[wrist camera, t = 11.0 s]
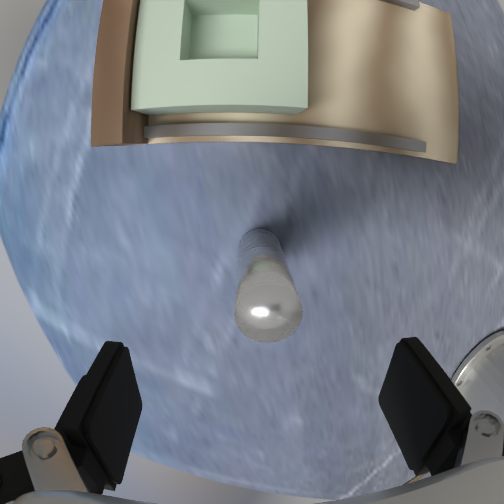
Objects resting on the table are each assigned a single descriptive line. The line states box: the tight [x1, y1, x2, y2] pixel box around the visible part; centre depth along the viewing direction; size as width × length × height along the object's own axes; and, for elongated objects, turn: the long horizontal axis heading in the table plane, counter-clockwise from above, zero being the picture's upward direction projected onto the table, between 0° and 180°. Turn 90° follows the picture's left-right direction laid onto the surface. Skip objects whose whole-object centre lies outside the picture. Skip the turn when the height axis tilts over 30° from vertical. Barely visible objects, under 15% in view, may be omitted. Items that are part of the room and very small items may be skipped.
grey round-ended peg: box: [235, 229, 302, 343], centre depth 19 cm, size 3×3×10 cm
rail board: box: [91, 0, 459, 164], centre depth 17 cm, size 26×14×6 cm, turn 89°
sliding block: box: [131, 0, 308, 116], centre depth 16 cm, size 10×10×4 cm
